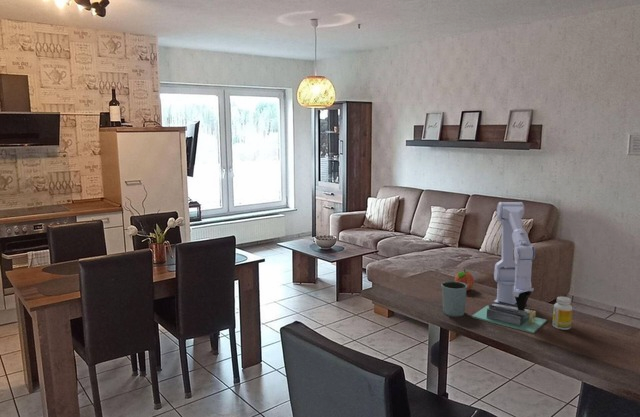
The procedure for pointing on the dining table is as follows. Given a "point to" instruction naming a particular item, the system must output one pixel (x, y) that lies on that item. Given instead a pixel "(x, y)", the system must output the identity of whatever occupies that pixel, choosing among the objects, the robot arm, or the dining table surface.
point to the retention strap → (510, 308)
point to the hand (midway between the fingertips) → (521, 309)
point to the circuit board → (525, 327)
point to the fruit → (465, 278)
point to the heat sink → (510, 315)
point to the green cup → (454, 298)
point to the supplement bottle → (562, 313)
